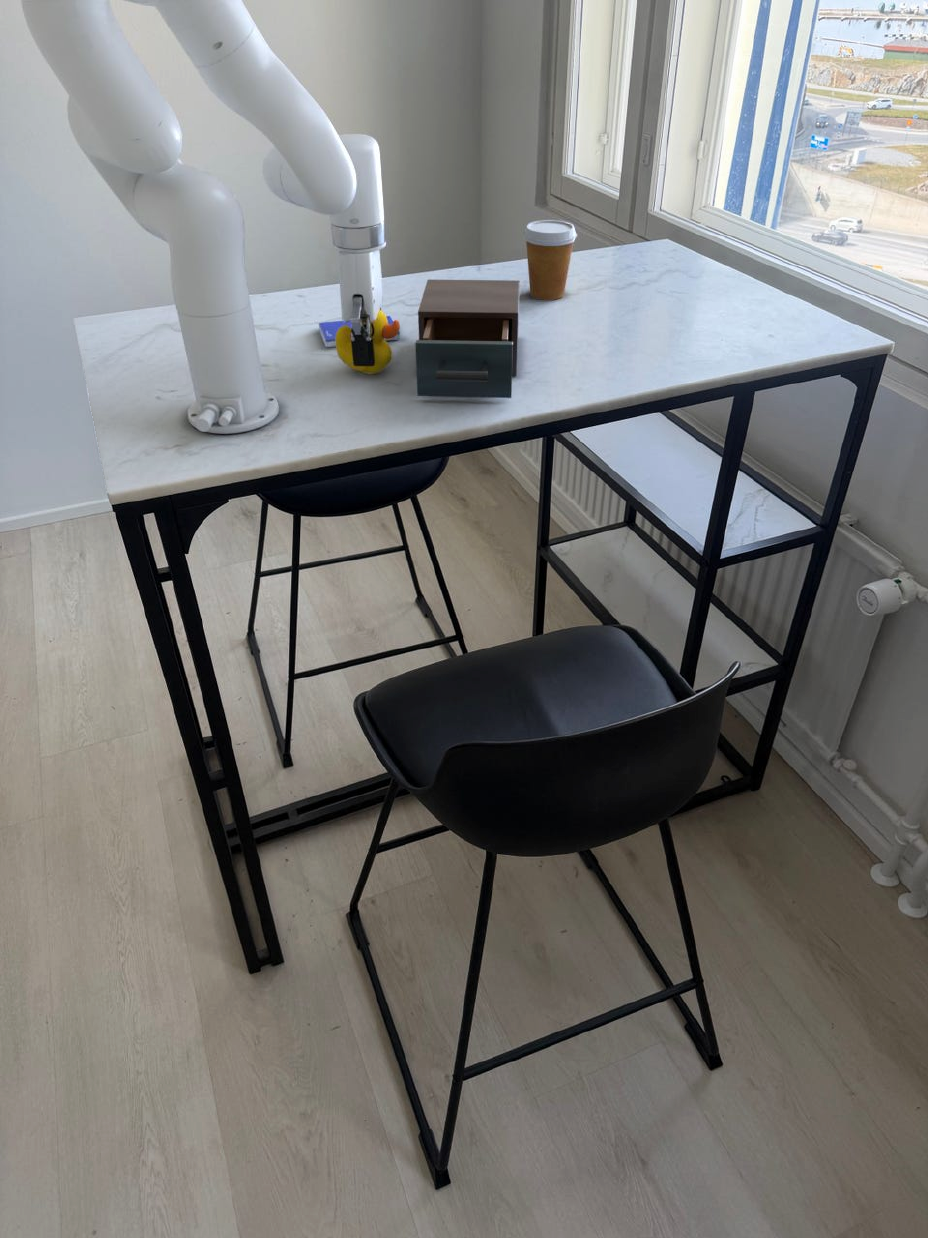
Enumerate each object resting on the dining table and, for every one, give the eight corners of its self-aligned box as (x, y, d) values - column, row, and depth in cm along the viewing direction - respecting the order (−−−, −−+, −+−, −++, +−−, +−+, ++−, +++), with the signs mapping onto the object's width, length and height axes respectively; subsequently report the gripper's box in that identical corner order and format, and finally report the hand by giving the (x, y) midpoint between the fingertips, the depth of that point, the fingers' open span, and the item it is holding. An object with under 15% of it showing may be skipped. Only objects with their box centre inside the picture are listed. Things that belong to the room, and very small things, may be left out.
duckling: (410, 372, 134) (407, 307, 128) (392, 385, 131) (388, 319, 125) (350, 359, 139) (344, 296, 132) (330, 371, 135) (323, 306, 129)
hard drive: (325, 339, 141) (399, 331, 144) (318, 321, 147) (389, 314, 150) (326, 348, 142) (400, 340, 145) (319, 330, 148) (390, 323, 151)
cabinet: (516, 376, 133) (518, 312, 127) (420, 374, 134) (417, 311, 127) (517, 340, 144) (519, 280, 138) (429, 339, 145) (427, 279, 139)
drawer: (510, 413, 121) (511, 359, 116) (413, 412, 121) (410, 357, 116) (513, 360, 135) (514, 310, 130) (426, 359, 136) (424, 308, 131)
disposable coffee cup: (574, 302, 158) (579, 233, 151) (522, 303, 158) (524, 233, 151) (570, 286, 166) (575, 219, 158) (520, 286, 166) (522, 219, 158)
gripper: (343, 218, 129) (354, 331, 140) (320, 253, 116) (335, 375, 127) (392, 218, 129) (400, 331, 140) (376, 253, 115) (385, 376, 126)
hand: (369, 352), depth 133 cm, fingers open, 9 cm apart
